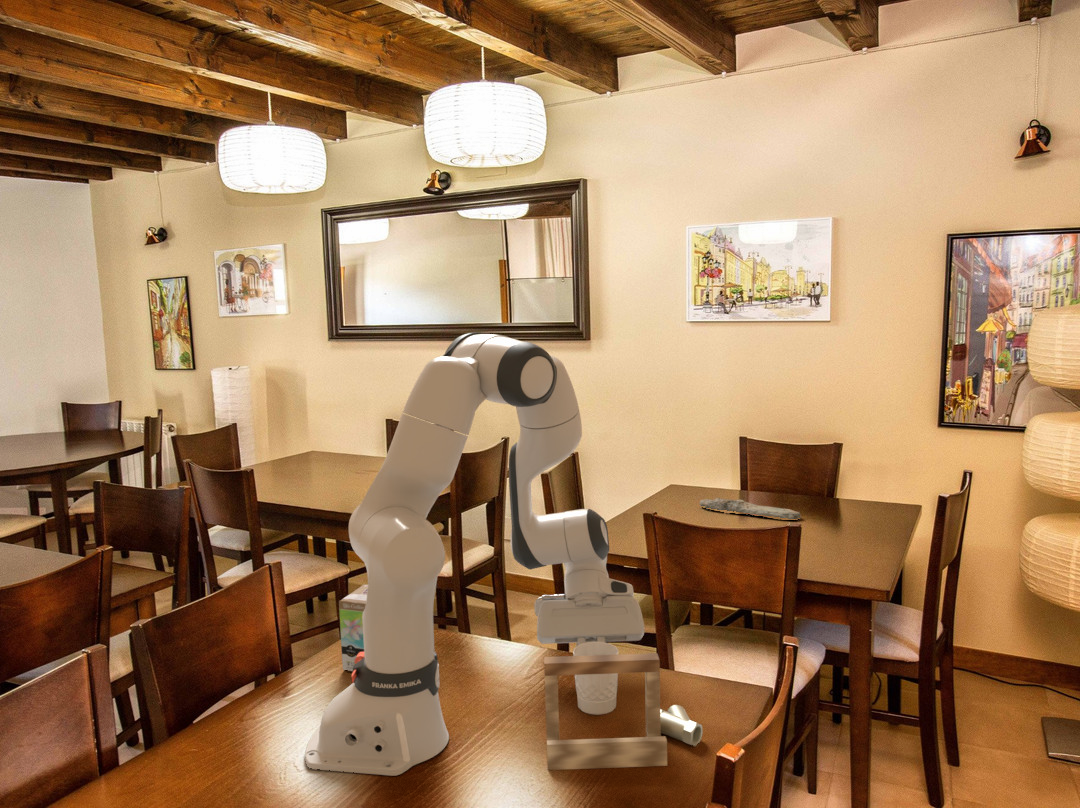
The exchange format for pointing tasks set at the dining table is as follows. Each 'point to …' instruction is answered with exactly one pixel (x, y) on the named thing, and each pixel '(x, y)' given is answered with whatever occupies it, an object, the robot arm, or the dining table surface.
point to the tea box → (352, 626)
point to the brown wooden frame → (607, 749)
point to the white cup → (596, 681)
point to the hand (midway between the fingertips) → (592, 663)
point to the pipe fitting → (680, 725)
